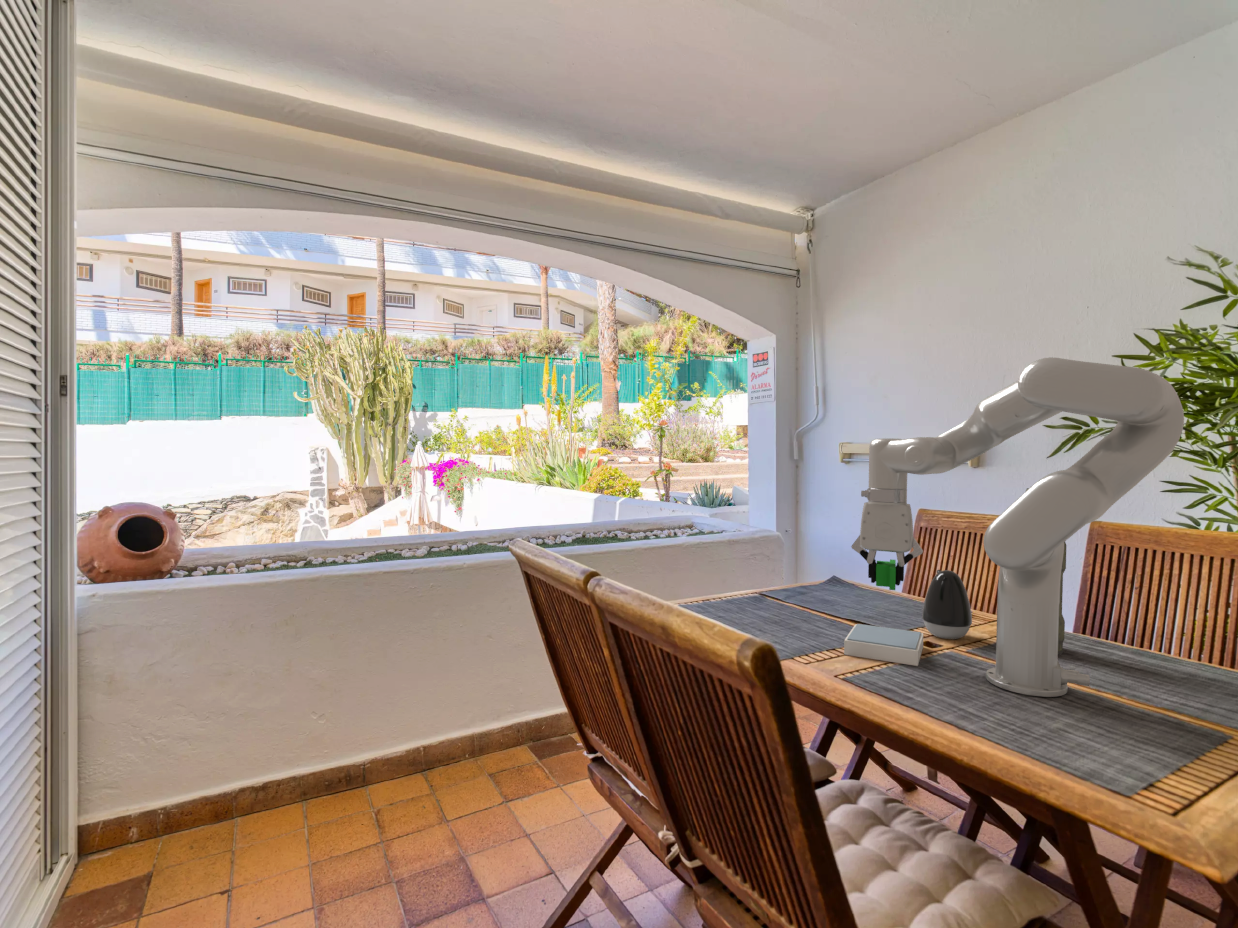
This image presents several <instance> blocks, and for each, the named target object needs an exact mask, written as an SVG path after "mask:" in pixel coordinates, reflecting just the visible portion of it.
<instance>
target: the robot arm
mask: <svg viewBox="0 0 1238 928" xmlns="http://www.w3.org/2000/svg"><path fill="white" fill-rule="evenodd" d="M1062 412H1065V413H1071V414H1075V415H1081V416H1087V417H1094V418H1099V419H1105V420H1110V421H1115V422H1117V423H1116V425H1115V427H1114V428H1113V429H1112V430H1111V431H1110V432H1109V433H1108V434H1107V435H1106V436H1105V437H1103V438H1102V439H1100V441H1098V442H1097V443H1096V444H1095V445H1093V446H1092V448H1090V450H1088V451H1087V452H1086V454H1084V455H1083V456H1082V457H1081V458H1079V460H1077V461H1076V462H1075V463H1074V464H1072V465H1070V467H1068V468H1066V469H1062V470H1056V471H1053V472H1051V473H1049V474H1048V473H1047V475H1045V476H1043V477H1042V478H1040V479H1039V480H1038V481H1036V482H1035V483H1034V484H1033V485H1032V486H1030V487H1029V489H1028V490H1027V491H1026V490H1025V491H1026V492H1023V493H1022V495H1020V496H1019V497H1018V498H1017V499H1016V500H1015V501H1013V503H1011V505H1009V506H1008V507H1007V508H1006V509H1004V510H1003V511H1002V513H1000V514H999V515H998V516H997V517H996V518H995V519H994V520H993V521H992V522H991V523H990V524H989V525H988V527H987V528H986V530H985V532H984V536H983V548H984V551H985V553H986V556H987V557H988V558H989V560H990V561H991V562H993V563H994V564H995V565H997V566H998V567H999V572H998V581H997V601H996V602H997V604H996V607H997V608H996V636H995V637H996V640H995V642H996V645H995V650H996V651H995V667H991V668H989V669H987V670H986V672H985V678H986V680H987V681H988V682H989V683H991V684H992V685H994V686H996V687H998V688H1000V689H1002V690H1005V691H1009V692H1012V693H1016V694H1019V695H1020V694H1021V695H1025V696H1033V697H1041V698H1042V697H1043V698H1052V697H1053V698H1054V697H1061V696H1064V695H1066V694H1068V688H1069V687H1068V683H1071V684H1076V685H1078V686H1079V685H1080V686H1086V687H1090V682H1091V681H1090V680H1091V677H1090V674H1086V673H1080V671H1079V670H1075V669H1074V670H1073V669H1065V668H1064V667H1062V666H1061V665H1060V661H1059V660H1058V659H1059V658H1058V656H1059V654H1058V626H1059V603H1060V580H1061V569H1062V562H1063V555H1064V542H1066V541H1067V540H1068V539H1070V538H1071V537H1073V536H1074V535H1075V534H1076V533H1077V532H1078V531H1079V530H1081V529H1082V528H1083V527H1085V526H1086V525H1088V524H1091V523H1093V522H1095V521H1097V520H1099V519H1100V518H1101V517H1102V516H1103V515H1105V513H1106V512H1107V511H1109V509H1110V508H1111V507H1113V506H1114V504H1116V503H1117V502H1118V501H1119V500H1120V499H1121V498H1122V497H1124V496H1125V495H1126V494H1128V493H1129V492H1130V491H1131V490H1132V489H1133V488H1135V487H1136V486H1137V485H1138V484H1139V483H1140V482H1141V481H1142V480H1143V479H1144V478H1145V477H1147V476H1148V475H1149V474H1151V472H1153V471H1154V470H1155V469H1156V468H1157V467H1158V466H1159V465H1161V463H1162V462H1164V460H1165V459H1167V457H1169V456H1170V454H1171V453H1172V452H1173V451H1174V449H1175V448H1176V447H1177V444H1178V442H1179V441H1180V438H1181V436H1182V433H1183V429H1184V423H1185V417H1184V416H1185V413H1184V408H1183V405H1182V403H1181V399H1180V397H1179V395H1178V393H1177V392H1176V390H1175V388H1174V386H1173V385H1172V384H1171V383H1170V382H1169V381H1168V380H1167V379H1165V378H1164V377H1162V376H1161V375H1159V374H1157V373H1154V372H1153V371H1150V370H1148V369H1145V368H1140V367H1134V366H1128V365H1127V366H1126V365H1119V364H1117V365H1116V364H1108V363H1099V362H1090V361H1082V360H1073V359H1067V358H1060V357H1053V356H1052V357H1044V358H1041V359H1037V360H1035V361H1033V362H1031V363H1030V364H1028V365H1027V366H1026V367H1025V368H1023V370H1022V372H1021V373H1020V375H1019V377H1018V380H1016V381H1015V382H1013V383H1011V384H1009V385H1007V386H1005V387H1004V388H1002V389H999V390H998V391H996V392H995V393H993V394H991V395H989V396H987V397H985V398H983V399H981V400H980V401H979V402H978V403H977V405H975V407H974V410H973V412H972V414H971V415H970V416H969V417H968V418H967V419H965V420H964V421H963V422H961V423H960V424H958V425H956V426H954V427H953V428H951V429H949V430H947V431H946V432H944V433H942V434H941V433H940V435H938V436H936V437H931V436H928V437H925V436H924V437H923V436H922V437H921V436H919V437H918V436H917V437H911V438H903V439H902V438H875V439H873V440H871V441H870V443H869V447H868V448H869V449H868V451H869V453H868V488H867V489H865V490H861V493H860V496H861V497H863V498H866V499H867V502H864V503H863V508H862V511H861V512H862V513H861V520H860V533H859V535H858V537H857V538H856V539H855V540H854V542H853V544H852V545H851V546H850V547H851V549H852V550H853V551H855V552H856V553H858V554H859V555H860V556H861V558H863V559H864V560H865V561H866V563H867V564H868V566H867V567H868V572H867V574H868V576H867V577H868V579H869V578H870V579H871V580H870V583H871V584H874V583H876V564H877V560H876V555H877V552H888V553H896V559H897V562H896V582H895V586H900V585H901V582H904V579H905V565H907V564H908V563H909V562H910V561H912V560H913V559H915V558H917V557H919V556H920V555H922V554H923V552H924V550H923V548H922V547H921V546H920V544H919V543H918V541H917V539H916V538H915V537H914V527H913V526H914V525H913V513H912V508H911V504H909V503H908V474H911V475H912V474H913V475H918V476H919V475H921V476H922V475H923V476H924V475H932V474H933V475H937V474H943V473H946V472H949V471H951V470H954V469H955V468H957V467H960V466H962V465H964V464H965V463H968V462H969V461H972V460H974V459H976V458H978V457H980V456H981V455H983V454H985V453H987V452H988V451H990V450H991V449H993V448H995V447H997V446H999V445H1001V444H1002V443H1003V442H1005V441H1006V440H1008V439H1010V438H1012V437H1015V436H1016V435H1018V434H1020V433H1022V432H1025V431H1026V430H1028V429H1030V428H1033V426H1036V425H1038V424H1040V423H1041V422H1044V421H1046V420H1048V419H1050V418H1052V417H1054V416H1057V415H1058V414H1060V413H1062ZM912 549H913V550H912ZM911 550H912V551H911ZM910 551H911V552H910ZM908 552H909V553H908ZM905 553H907V554H906V555H905Z"/></svg>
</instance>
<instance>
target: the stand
mask: <svg viewBox="0 0 1238 928" xmlns="http://www.w3.org/2000/svg"><path fill="white" fill-rule="evenodd" d="M923 649H924V633H923V632H921V631H914V630H908V629H907V630H906V629H900V628H899V629H898V628H893V627H884V626H877V625H869V624H864V623H863V624H862V623H857V624H856V623H855V624H854V625H853V627H852V628H851V630H850V631H849V632H848V634H847V636H846V637H845V639H844V642H843V654H844V655H845V656H850V657H851V656H852V657H857V658H858V657H859V658H863V659H870V660H877V661H882V662H883V661H884V662H889V663H896V664H904V665H909V666H914V667H918V666H919V664H920V663H919V662H920V660H921V656H922V652H923Z"/></svg>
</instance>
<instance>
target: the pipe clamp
mask: <svg viewBox="0 0 1238 928" xmlns="http://www.w3.org/2000/svg"><path fill="white" fill-rule="evenodd" d="M876 563H877V564H876V582H875V586H877V587H883V588H884V587H886V588H889V589H888V590H889V591H896V585H895V582H896V566H897V562H896V559H890V560H889V561H887V560H876Z"/></svg>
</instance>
